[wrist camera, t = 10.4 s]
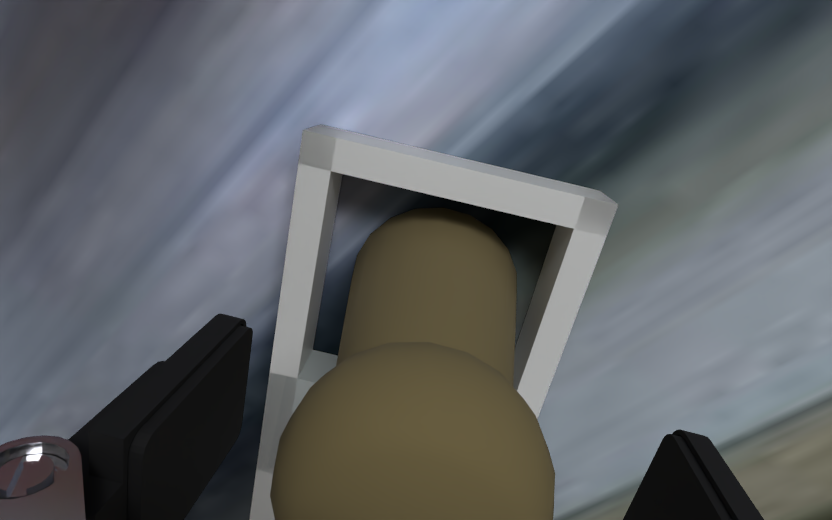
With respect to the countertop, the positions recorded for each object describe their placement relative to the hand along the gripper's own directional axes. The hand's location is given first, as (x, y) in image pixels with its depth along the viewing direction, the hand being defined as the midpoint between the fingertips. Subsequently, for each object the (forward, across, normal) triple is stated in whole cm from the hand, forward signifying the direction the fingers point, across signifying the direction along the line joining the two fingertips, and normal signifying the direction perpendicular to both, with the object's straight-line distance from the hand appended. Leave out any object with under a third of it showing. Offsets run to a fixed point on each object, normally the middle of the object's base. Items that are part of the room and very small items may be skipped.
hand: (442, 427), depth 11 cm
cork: (+8, +1, 0) cm, 8 cm away
